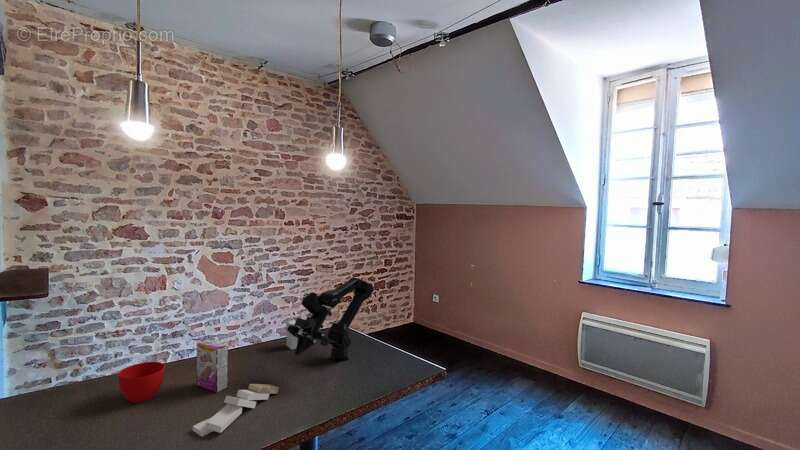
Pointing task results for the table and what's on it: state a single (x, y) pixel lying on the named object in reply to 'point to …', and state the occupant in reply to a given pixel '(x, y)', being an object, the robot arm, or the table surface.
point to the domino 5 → (263, 388)
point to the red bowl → (141, 381)
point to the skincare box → (291, 336)
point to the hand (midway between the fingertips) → (296, 355)
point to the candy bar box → (212, 365)
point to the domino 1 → (202, 428)
